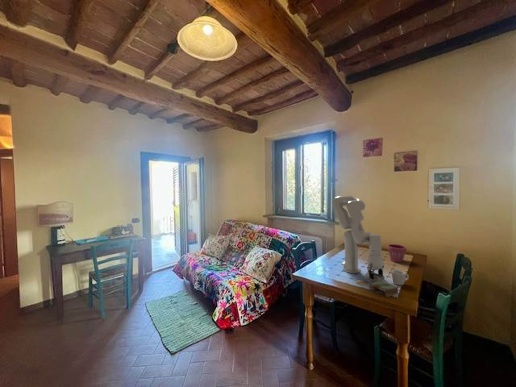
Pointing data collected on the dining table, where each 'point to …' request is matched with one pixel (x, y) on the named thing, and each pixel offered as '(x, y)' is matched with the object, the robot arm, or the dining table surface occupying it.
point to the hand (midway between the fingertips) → (376, 277)
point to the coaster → (361, 282)
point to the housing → (375, 277)
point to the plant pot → (396, 252)
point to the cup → (399, 277)
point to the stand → (384, 287)
